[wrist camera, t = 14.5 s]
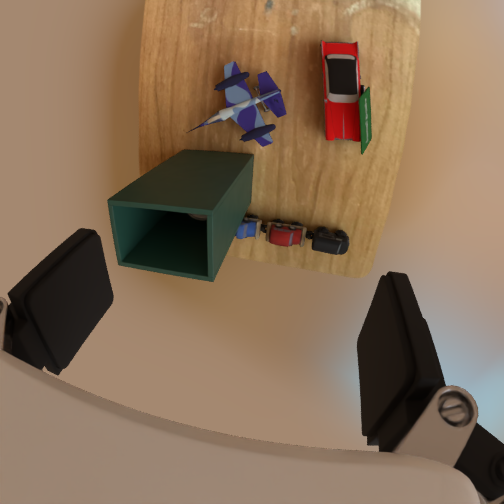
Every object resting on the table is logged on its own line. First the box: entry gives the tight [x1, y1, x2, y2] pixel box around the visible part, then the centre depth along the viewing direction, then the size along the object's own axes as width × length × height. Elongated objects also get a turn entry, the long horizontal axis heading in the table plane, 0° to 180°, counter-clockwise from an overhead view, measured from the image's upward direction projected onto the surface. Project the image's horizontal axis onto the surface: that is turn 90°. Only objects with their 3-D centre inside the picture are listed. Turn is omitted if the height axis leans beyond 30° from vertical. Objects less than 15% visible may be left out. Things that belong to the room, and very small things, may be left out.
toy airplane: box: [187, 62, 286, 147], centre depth 42 cm, size 13×14×4 cm
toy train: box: [235, 214, 349, 255], centre depth 51 cm, size 4×22×5 cm, turn 84°
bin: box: [107, 149, 254, 282], centre depth 41 cm, size 8×12×23 cm
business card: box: [359, 87, 372, 155], centre depth 38 cm, size 9×1×5 cm
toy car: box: [320, 40, 365, 142], centre depth 37 cm, size 6×15×5 cm, turn 4°
